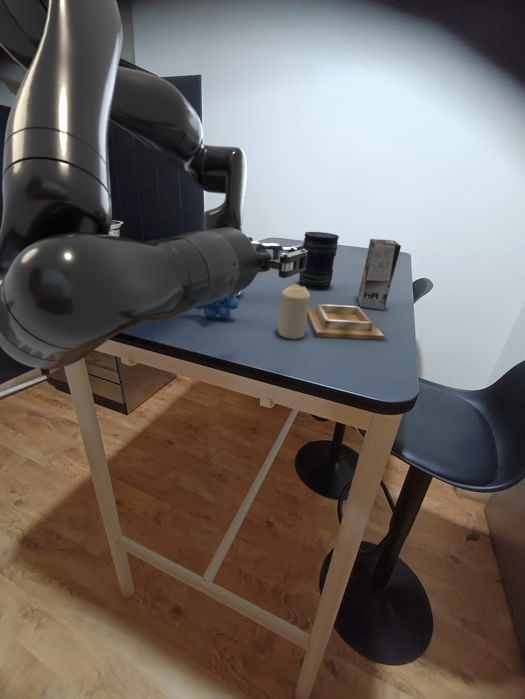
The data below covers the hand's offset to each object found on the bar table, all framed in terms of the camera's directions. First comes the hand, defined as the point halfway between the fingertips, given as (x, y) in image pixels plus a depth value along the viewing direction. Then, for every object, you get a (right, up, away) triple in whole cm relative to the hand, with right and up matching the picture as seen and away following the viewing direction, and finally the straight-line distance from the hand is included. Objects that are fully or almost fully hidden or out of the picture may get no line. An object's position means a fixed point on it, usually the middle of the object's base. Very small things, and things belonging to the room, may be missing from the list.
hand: (274, 248), depth 48 cm
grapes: (-13, -9, +21) cm, 26 cm away
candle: (+4, -12, +18) cm, 22 cm away
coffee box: (+27, -3, +38) cm, 47 cm away
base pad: (+16, -10, +23) cm, 30 cm away
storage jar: (+14, +4, +50) cm, 52 cm away
